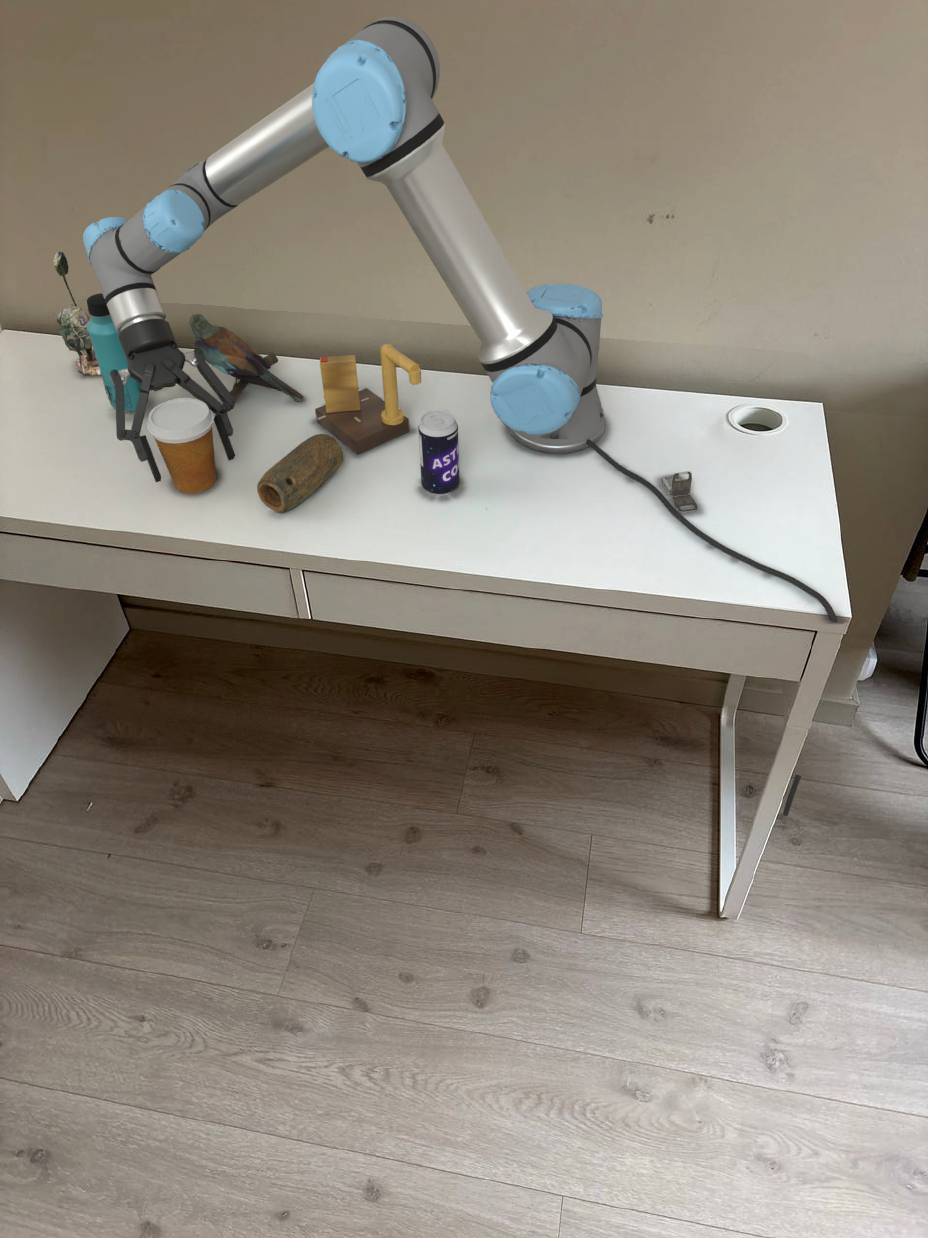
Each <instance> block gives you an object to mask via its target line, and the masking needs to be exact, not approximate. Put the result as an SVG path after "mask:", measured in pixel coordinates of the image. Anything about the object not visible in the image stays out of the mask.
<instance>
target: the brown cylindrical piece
mask: <svg viewBox="0 0 928 1238" xmlns="http://www.w3.org/2000/svg"><path fill="white" fill-rule="evenodd" d="M344 457H345V454H344V451H343V448H342V447H341V445H340V443H338V441H337V440H336V439H335V438H334V437H333V435H332V436H331V435H329V434H326V433H318V434H313V435H312V436H309V437H308V438H306V439H305V440H304V441H301V443H300V444H298V445H297V446H296V447H294V448H293V449H292V450H291V451H289V452H288V453H287V454H286V455H285V456H283V457H282V458H281V459H280V460H278V461H277V462H276V463H275V464H273V465H272V467H270V468H269V469H268V470H267V471H266V472H265V473H264V474H263V475H262V477H260V479H259V480H258V483H257V484H256V490H257V491H256V492H257V494H258V497H259V499H260V500H261V503H263V504H264V505H265V506H266V507H267V508H270V509H271V510H273V511H275V512H277V513H279V514H281V513H285V512H287V511H289V510H291V509H293V508H294V507H296V506H297V505H299V504H300V503H302V502H303V501H305V500H306V499H307V498H308V497H309V496H310V495H311V494H313V493H314V492H315V491H317V489H318V488H319V487H321V486H322V485H323V484H324V483H325V482H326V481H327V480H328V479H329V478H330V477H331V476H332V475H333V474H334V473H335V472H336V471H337V470H338V468H339V467H340V466H341V464H342V463H343V461H344Z"/></svg>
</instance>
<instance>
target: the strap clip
mask: <svg viewBox="0 0 928 1238" xmlns="http://www.w3.org/2000/svg"><path fill="white" fill-rule="evenodd" d="M684 475H688V478H683V476H684ZM692 481H693V475H692V472H691V471H690V470H688V471H681V472H674V474H667V475H663V476H662V477H661V482H662V486H663V487H664V489H665V491H666V492H667V493H668V494H669V495H671V496H672V498H671V501H672V503H673V505H674V508H675V509H676V510H677V511H678V512H679V513H680V514H684V513H692V512H697V511H698V504H697V502H695V500H694V498H693V497H692V496H691V495H690V493H691V488H692ZM690 507H693V508H690ZM685 508H688V509H685Z"/></svg>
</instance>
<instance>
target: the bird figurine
mask: <svg viewBox="0 0 928 1238" xmlns="http://www.w3.org/2000/svg"><path fill="white" fill-rule="evenodd" d="M188 325H189V326H190V329H191V332H192V334H193V335H194V345H195V349H196V348H200V349H202V351H203V354H204V357H205V360H206V362H207V364H208V365H210V366H212V367H213V368H215V369H216V370H218V371H219V372H222V373H223V374H225V375H229V376H231V377H233V378H235V379H234V383H233V385H232V389H231V390H230V391H229V392H230V393H231V395H232V396H233V397H234V399H235V400H236V399H237V398H238V397H239V396H240V394H241V393H242V392H243V391H244V390H245V389H246V388H247V386H248V385H249V384H251V385H256V386H259V387H263V388H266V389H271V390H275V391H278V392H282V393H284V394H285V395H287V396H289V398H290V399H292V400H293V401H295V402H298V403H299V402H301V401H302V400H303V399H304V397H305V396H304V395H303V394H302V393H300V392H299V391H298V390H297V389H295V388H294V387H291V386H290V385H289V384H287V383H286V382H285V381H284V380H282V379H280V378H279V377H278V376H277V375H275V374H274V373H273V372H271V371H270V369H272V366H274V365H275V364H277V363H278V362H279V359H278V356H277V355H276V354H275V353H274V352H270V353H269V354H267V355H266V356H264V357H263V356H261V354H260V353H259V352H257V351H256V350H255V349H254V348H253V346H251V345H250V344H248V343H247V342H246V341H244V340H243V339H242V338H241V337H239V336H238V335H237V334H235V332H233V331H232V330H230V329H228V328H227V327H225V326H219V325H213V324H211V323H210V322H209V321H208V320H207V319H206V317H204V315H203V314H201V313H193V314H191V316H189V319H188ZM238 380H239V381H238Z"/></svg>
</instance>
